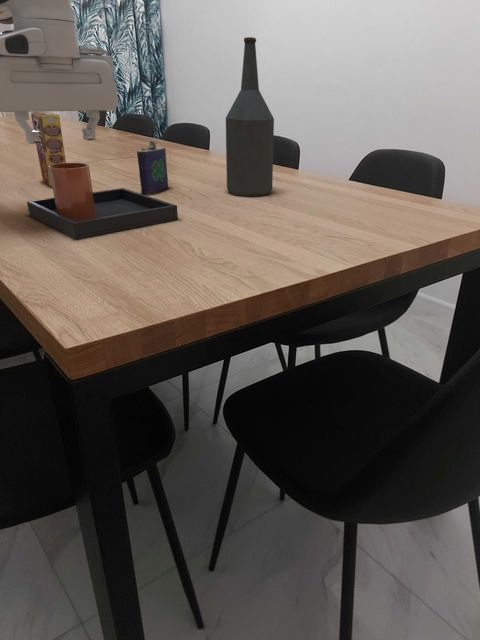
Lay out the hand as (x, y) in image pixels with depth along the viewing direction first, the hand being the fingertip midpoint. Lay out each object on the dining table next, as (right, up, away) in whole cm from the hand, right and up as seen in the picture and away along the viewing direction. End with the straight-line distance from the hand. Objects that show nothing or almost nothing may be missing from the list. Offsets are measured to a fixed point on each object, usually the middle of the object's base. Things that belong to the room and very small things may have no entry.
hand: (62, 141), depth 83 cm
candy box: (-16, +5, +35) cm, 39 cm away
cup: (0, -11, +6) cm, 13 cm away
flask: (+9, +1, +31) cm, 32 cm away
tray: (+4, -10, +10) cm, 14 cm away
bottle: (+30, +1, +31) cm, 43 cm away
